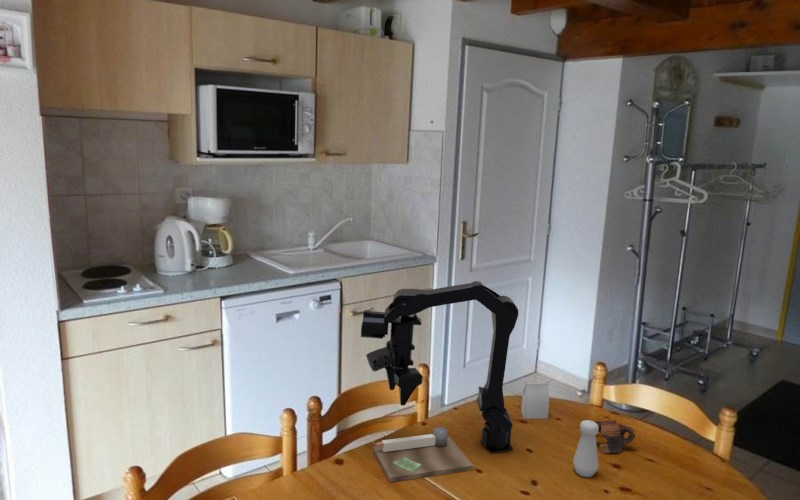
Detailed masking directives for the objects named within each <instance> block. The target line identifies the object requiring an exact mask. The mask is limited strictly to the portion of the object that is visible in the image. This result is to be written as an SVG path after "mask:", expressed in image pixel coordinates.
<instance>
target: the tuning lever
mask: <svg viewBox="0 0 800 500" xmlns="http://www.w3.org/2000/svg"><path fill="white" fill-rule="evenodd" d="M447 437H448V429H447V428H446V427H443V426H436V427H434V428H433V432H432V433H429V434H423V435H422V434H421V435H414V436H406V437H405V436H404V437H399V438H390V439H383V440H381V441H379V442H376V443H375V444H376V445H375V446H377V448H378V447H382V450H383V452H389V451H396V450H403V449H411V448H418V447H426V446H433V445H436V446H445V445H447Z"/></svg>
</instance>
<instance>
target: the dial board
mask: <svg viewBox="0 0 800 500" xmlns="http://www.w3.org/2000/svg"><path fill="white" fill-rule="evenodd" d="M372 452H373V454H374V457H375V458H376V459H377V462H378V464H379V465H380V467H381V469H382V471H383V473H384V475H385V477H386V478H387V480H388V482H389V483H395V482H397V483H398V482H402V481H409V480H410V481H411V480H416V479H422V478H428V477H434V476H441V475H442V476H443V475H449V474H454V473H455V474H456V473H460V472H469V471H473V469H474V465H473V463H472V462H471V461H470V459H468V457H467V456H466V455H465V454H464V452H463V451H462V450H461V448H460V447H459V446H458V445H457V443H455V441H454V440H453V439H452V438H451V436H447V445H445V446H436V445H433V446H426V447H418V448H411V449H403V450H396V451H389V452H383V450H382V447H378V448H377V446H376V445H375V446H373V447H372Z"/></svg>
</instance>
